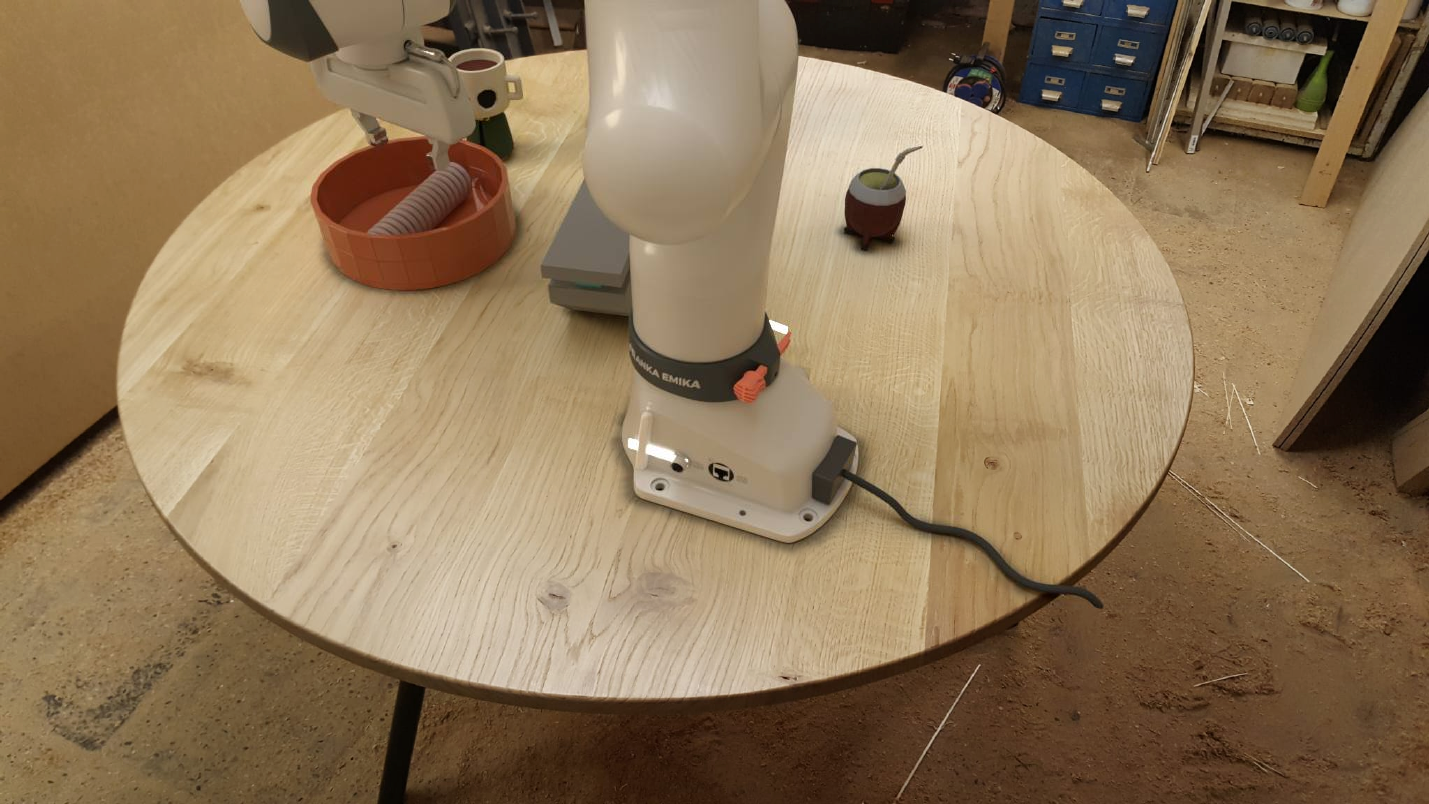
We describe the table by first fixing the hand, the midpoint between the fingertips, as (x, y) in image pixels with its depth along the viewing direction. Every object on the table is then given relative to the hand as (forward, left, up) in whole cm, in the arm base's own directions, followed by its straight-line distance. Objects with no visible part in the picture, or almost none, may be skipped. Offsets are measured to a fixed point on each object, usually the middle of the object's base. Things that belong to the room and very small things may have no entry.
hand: (409, 155), depth 97 cm
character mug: (+6, -19, -11) cm, 22 cm away
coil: (0, 0, -10) cm, 10 cm away
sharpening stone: (-25, -5, -11) cm, 27 cm away
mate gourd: (-46, -29, -11) cm, 55 cm away
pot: (0, 0, -11) cm, 11 cm away
